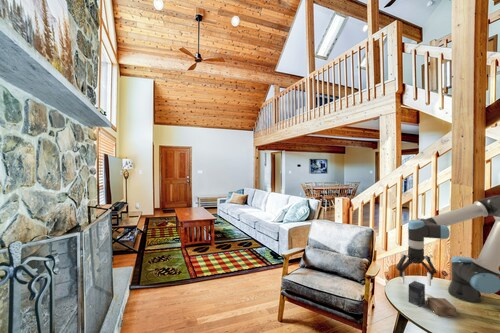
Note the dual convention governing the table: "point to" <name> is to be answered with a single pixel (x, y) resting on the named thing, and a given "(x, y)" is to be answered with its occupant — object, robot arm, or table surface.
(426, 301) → the coaster
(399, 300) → the table surface
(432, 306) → the block
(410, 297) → the box
